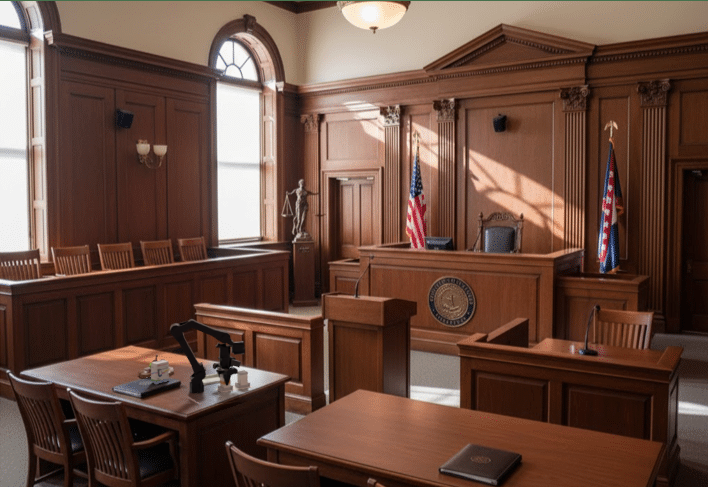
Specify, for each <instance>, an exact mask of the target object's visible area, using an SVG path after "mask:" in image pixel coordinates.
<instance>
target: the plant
mask: <svg viewBox="0 0 708 487" xmlns="http://www.w3.org/2000/svg"><path fill="white" fill-rule="evenodd" d="M158 357H159V355H158V353H157V354H155V359H153V360H152V361H151V362H149V365H148V366H147V367H143V368H142V369H141V370H140V371H138V377H140V378H142V379H147V378H146V377H150V376H151V363H152V362H156V361H158ZM160 360H165V361H167V360H166V359H164V358H162V359H161V358H160ZM174 369H175V368H174V367H173V366H170V365H169V377H171V376H172V375H174V374H175V371H174Z"/></svg>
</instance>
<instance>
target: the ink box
mask: <svg viewBox="0 0 708 487" xmlns="http://www.w3.org/2000/svg"><path fill="white" fill-rule="evenodd" d="M165 360H166V359H164V360H161V359H160V360H157V361H156V362H152V361H151V362H150V363H151V365H150V366H151V378H150V382H151V381H156V382H157V381H160V380H163V379H169V380H170V376H169V366H170V364H169V360H166V361H165Z"/></svg>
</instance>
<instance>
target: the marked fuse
mask: <svg viewBox="0 0 708 487" xmlns="http://www.w3.org/2000/svg"><path fill="white" fill-rule="evenodd" d="M231 382H232V381H231V379H230V381H229V384H228V385H227V386H226V384H225V381H224V378H223V375H222V374H220V383H219V386H221V387H223V391H225V390H231V386H230V384H231Z"/></svg>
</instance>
